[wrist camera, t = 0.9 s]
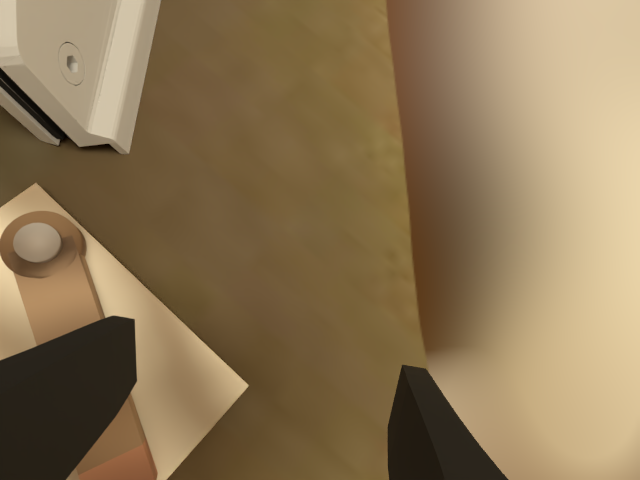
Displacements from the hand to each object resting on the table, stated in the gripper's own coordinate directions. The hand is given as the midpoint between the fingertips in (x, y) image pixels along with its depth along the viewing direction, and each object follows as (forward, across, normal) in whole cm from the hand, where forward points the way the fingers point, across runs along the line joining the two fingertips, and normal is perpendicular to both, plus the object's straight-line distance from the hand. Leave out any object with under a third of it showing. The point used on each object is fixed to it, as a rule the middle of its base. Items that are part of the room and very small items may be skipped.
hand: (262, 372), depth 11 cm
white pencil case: (+20, +17, -9) cm, 28 cm away
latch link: (+8, +12, +7) cm, 16 cm away
